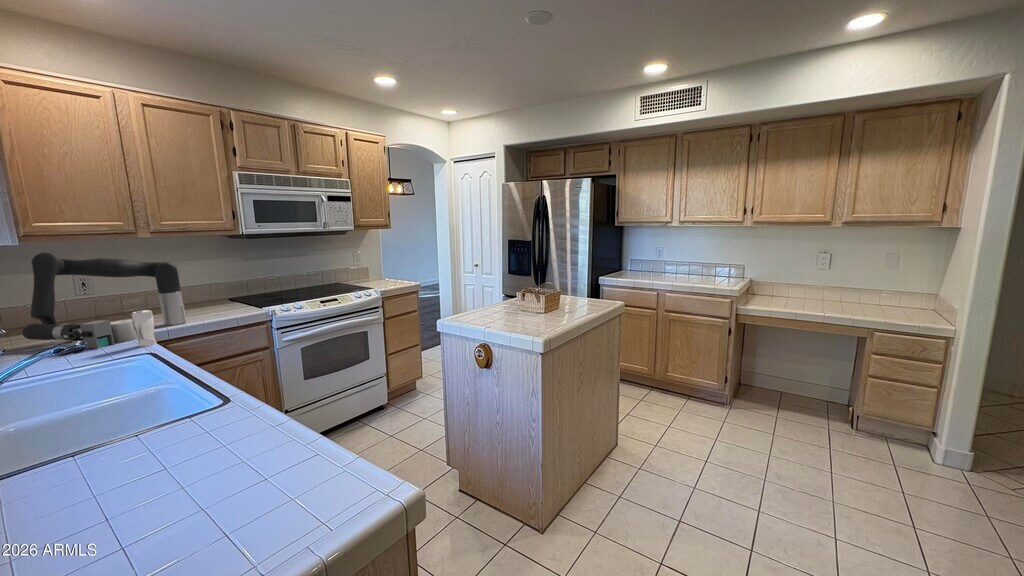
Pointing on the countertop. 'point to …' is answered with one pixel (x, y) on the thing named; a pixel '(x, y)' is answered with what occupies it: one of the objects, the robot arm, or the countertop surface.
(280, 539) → the countertop surface
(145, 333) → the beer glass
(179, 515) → the countertop surface
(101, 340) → the block
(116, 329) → the toilet tissue
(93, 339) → the cover
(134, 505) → the countertop surface
